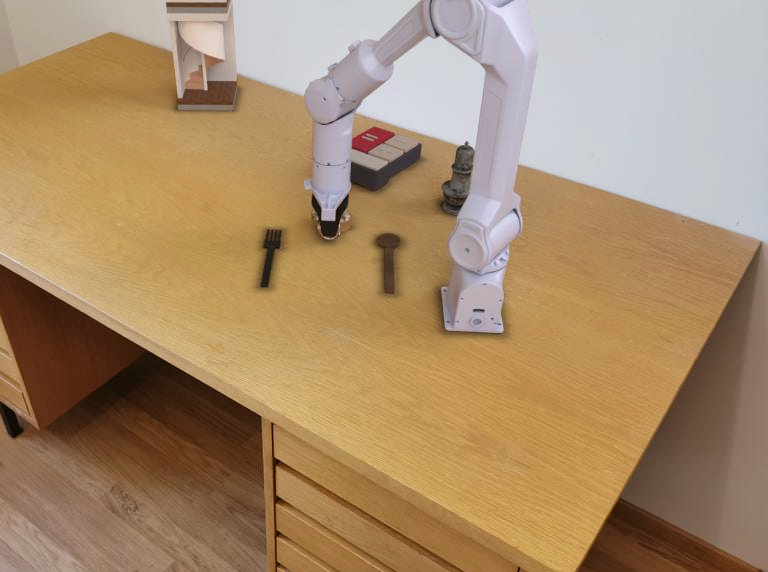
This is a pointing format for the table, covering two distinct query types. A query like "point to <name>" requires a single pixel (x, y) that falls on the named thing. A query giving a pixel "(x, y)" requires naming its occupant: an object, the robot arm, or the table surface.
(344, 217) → the ornament
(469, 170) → the grey stone chess piece
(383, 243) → the brown disc-ended stick
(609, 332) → the table surface
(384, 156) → the calculator
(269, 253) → the black fork
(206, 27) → the spiral staircase model
